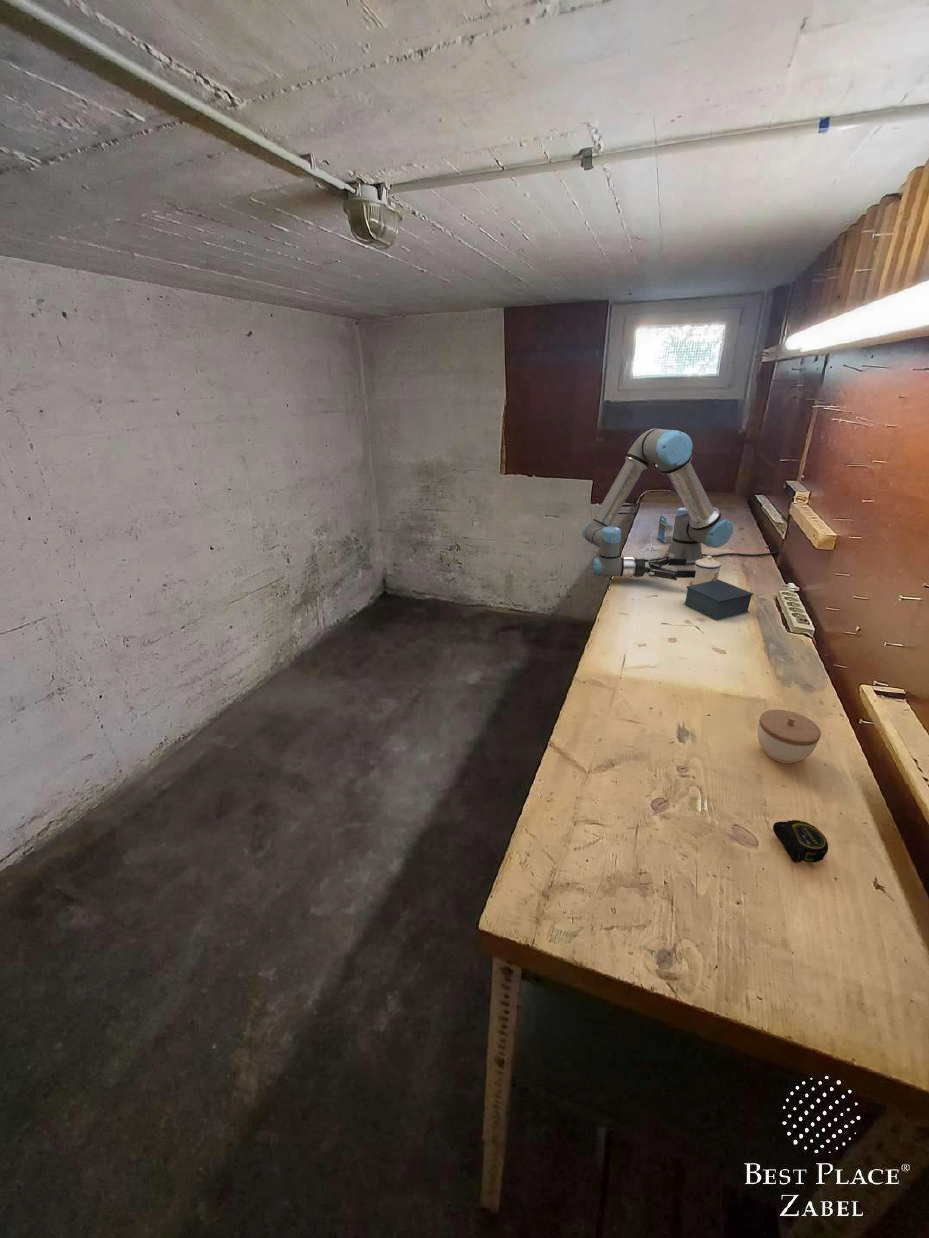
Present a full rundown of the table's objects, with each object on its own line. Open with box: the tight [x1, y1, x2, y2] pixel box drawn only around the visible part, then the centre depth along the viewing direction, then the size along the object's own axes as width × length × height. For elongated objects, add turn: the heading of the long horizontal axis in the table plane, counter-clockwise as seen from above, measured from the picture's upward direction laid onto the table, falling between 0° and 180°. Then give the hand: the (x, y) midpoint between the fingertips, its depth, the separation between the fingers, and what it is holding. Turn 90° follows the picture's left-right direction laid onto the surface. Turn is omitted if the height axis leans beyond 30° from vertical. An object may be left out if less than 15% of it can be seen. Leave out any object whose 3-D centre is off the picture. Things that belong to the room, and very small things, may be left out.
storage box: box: [684, 579, 754, 621], centre depth 167 cm, size 15×15×7 cm
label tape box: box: [657, 514, 674, 544], centre depth 238 cm, size 9×4×12 cm, turn 179°
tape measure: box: [772, 819, 829, 864], centre depth 82 cm, size 7×7×4 cm
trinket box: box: [757, 709, 822, 765], centre depth 101 cm, size 11×11×9 cm
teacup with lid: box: [691, 556, 722, 585], centre depth 186 cm, size 12×9×12 cm
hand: (690, 568), depth 187 cm, fingers open, 13 cm apart
